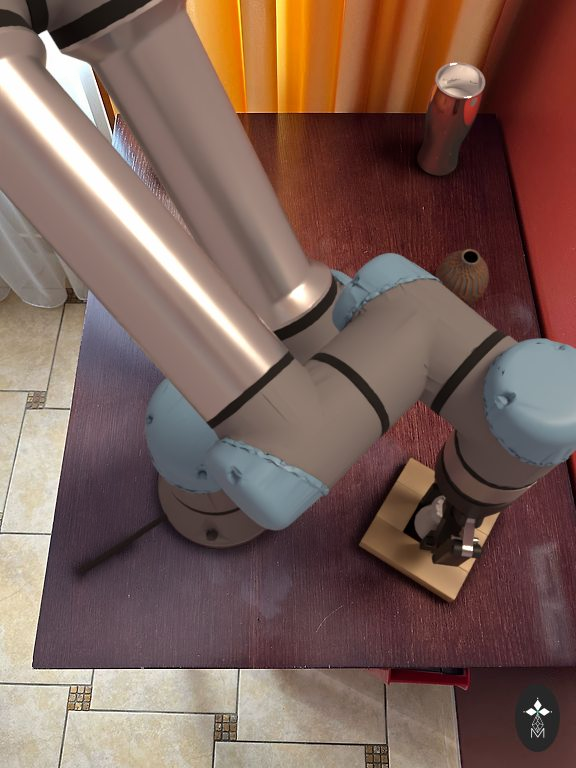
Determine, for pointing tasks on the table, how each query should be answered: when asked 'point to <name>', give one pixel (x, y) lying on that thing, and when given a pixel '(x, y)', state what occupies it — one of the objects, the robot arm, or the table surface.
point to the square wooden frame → (404, 550)
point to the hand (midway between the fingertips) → (432, 525)
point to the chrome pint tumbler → (450, 116)
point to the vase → (464, 275)
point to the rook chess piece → (429, 517)
